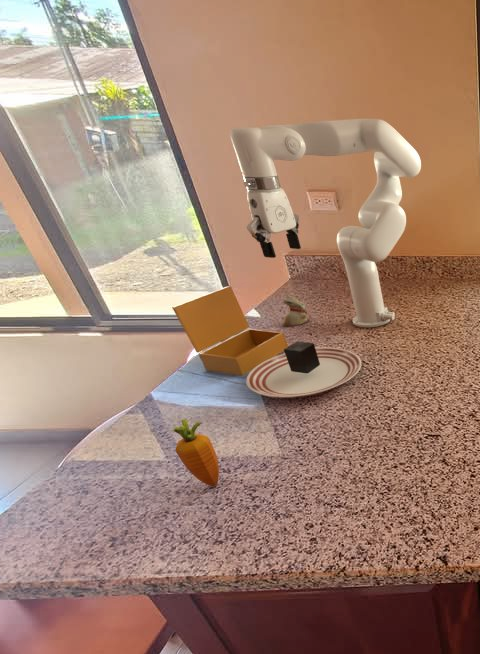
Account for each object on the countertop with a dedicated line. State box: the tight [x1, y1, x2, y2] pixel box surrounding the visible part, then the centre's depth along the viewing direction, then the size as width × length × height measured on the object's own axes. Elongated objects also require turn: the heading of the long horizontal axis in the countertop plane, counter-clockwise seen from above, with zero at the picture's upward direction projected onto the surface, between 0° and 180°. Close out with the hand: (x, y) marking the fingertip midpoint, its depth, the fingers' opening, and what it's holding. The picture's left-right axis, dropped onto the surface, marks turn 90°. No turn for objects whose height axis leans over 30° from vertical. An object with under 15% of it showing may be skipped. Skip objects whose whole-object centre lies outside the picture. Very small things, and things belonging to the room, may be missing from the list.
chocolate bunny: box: [282, 294, 308, 327], centre depth 143 cm, size 6×8×10 cm
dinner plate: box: [245, 346, 362, 399], centre depth 113 cm, size 27×27×3 cm
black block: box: [283, 340, 320, 374], centre depth 110 cm, size 5×5×6 cm
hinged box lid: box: [172, 285, 250, 353], centre depth 117 cm, size 13×17×6 cm
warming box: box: [198, 327, 289, 377], centre depth 120 cm, size 12×17×6 cm
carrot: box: [172, 418, 220, 488], centre depth 76 cm, size 5×5×15 cm
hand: (283, 252), depth 116 cm, fingers open, 9 cm apart
